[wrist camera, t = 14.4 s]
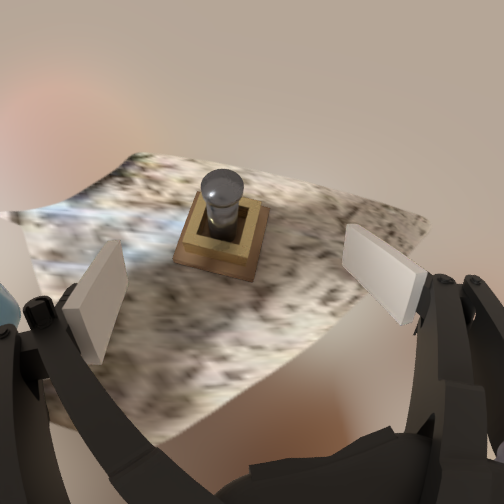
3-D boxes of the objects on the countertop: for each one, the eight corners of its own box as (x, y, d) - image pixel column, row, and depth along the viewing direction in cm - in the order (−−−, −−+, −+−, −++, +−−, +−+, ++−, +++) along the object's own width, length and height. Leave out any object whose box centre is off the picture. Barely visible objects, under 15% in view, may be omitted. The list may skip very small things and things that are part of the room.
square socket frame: (185, 251, 40) (182, 241, 37) (203, 200, 44) (202, 187, 41) (245, 266, 40) (247, 257, 37) (258, 213, 44) (261, 201, 41)
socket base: (174, 262, 41) (172, 258, 40) (197, 196, 46) (197, 191, 44) (252, 282, 41) (253, 279, 40) (268, 212, 46) (270, 208, 44)
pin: (202, 242, 41) (194, 198, 30) (212, 214, 43) (208, 165, 32) (234, 250, 41) (237, 208, 30) (242, 222, 43) (248, 174, 32)
